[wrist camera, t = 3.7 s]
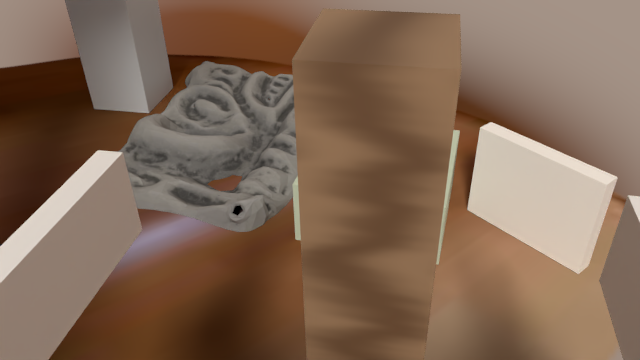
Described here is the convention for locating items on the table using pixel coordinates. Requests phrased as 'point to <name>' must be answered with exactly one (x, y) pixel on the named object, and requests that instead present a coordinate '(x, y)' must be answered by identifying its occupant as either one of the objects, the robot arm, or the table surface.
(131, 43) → the grey plastic block
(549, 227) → the card
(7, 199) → the table surface
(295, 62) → the walnut block
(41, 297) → the robot arm
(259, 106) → the wall plaque
